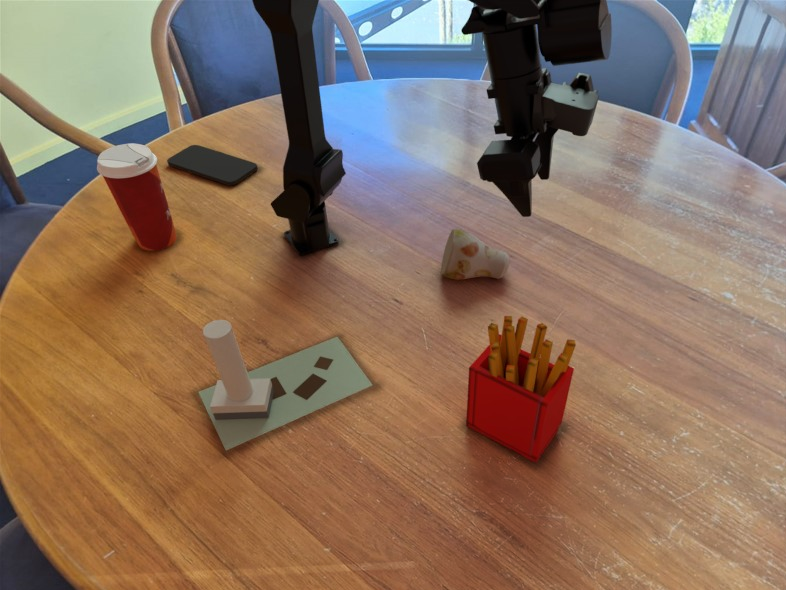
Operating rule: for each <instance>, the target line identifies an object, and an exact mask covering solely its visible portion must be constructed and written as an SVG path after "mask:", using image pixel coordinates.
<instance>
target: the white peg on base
mask: <svg viewBox="0 0 786 590" xmlns="http://www.w3.org/2000/svg"><path fill="white" fill-rule="evenodd" d="M202 334H203V337H204V339H205V342H206V344H207V347H208V349H209V352H210V354H211V358H212V360H213V362H214V365H215V367H216V369H217V373H218V374H219V377H220V379H217V381H216V384H215V385H216V387H215V391H214V394H213V398H212V401H211V405H210V408H211V410H212V413H213V415H214V417H215V419H216V420H221V419H250V418H269V414H270V409H271V405H272V400H273V395H274V390H273V387H272V383H271V380H270V378H267V379H250V378H249V375H248V372H249V371H248V370H247V367H246V364H245V361H244V359H243V355H242V352H241V349H240V346H239V343H238V340H237V338H236V335H235V333H234V329H233V326H232V324H231V322H229V321H228V320H225V319H214V320H212V321H210V322H208V323H207V324H206V325H205V326H204V327H203V329H202Z"/></svg>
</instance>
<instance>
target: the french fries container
mask: <svg viewBox="0 0 786 590" xmlns="http://www.w3.org/2000/svg"><path fill="white" fill-rule="evenodd" d="M503 316H504V317H503V323H502V330H501V334H500V333H499V324H497V323H494V322H491V323H490V324H489V325H488V326H487V332H488V341H489V344H488V346H486V348H485V349H484V350H483V351H482V352H481V353H480V354H479V356H478V357H477V358H476V359H475V360H474V361H473V362H472V363H471V364H470V366H469V367H468V383H467V401H466V403H467V405H466V421H465V422H466V423H465V426H466V427H467V428H468V429H471V430H473V431H475V432H476V433H477V434H480V435H482V436H484V437H486V438H488V439H489V440H492V441H493V442H495V443H497V444H499V445H501V446H502V447H505V448H506V449H508V450H510V451H512V452H514V453H515V454H518V455H520V456H522V457H524V458H525V459H527V460H529V461H531V462H533V463H535V464H537V463H538V461H539V460H540V458H541V457H542V455H544V454H543V453H544V452H545V451H546V449H547V448H548V446H549V445H550V444H551V442H552V440H553V439H554V437H555V436H556V434H557V433H558V431H559V427H560V426H561V425H562V423H563V419H564V415H565V411H566V406H567V401H568V396H569V393H570V388H571V383H572V379H573V375H574V371H575V368H574V367H572V366H571V365H570V362H571V359H572V357H573V354H574V351H575V349H576V346H577V343H576V340H575V339H568V338H567V340H566V341H565V343H564V344H565V345H564V347H563V350H562V352H561V353H560V354H559V355H558V357H557V358H556V360H555V362H554V363H551V362H550V360H551V355H552V348H553V341H552V340H549V339H545V338H546V335H547V331H548V325H546V324H544V323H543V322H541V323H538V324H537V325H536V328H535V332H534V337H533V341H532V345H531V349H530V352H528V351H526V350H524V349H522V346H523V342H524V338H525V333H526V330H527V326H528V321H529V319H528V318H526V317H524V316H520V317H518V319H517V323H516V328H515V326H514V325H513V316H512V315H503Z"/></svg>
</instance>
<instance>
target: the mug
mask: <svg viewBox="0 0 786 590" xmlns="http://www.w3.org/2000/svg"><path fill="white" fill-rule="evenodd" d="M510 261H511V260H510V257H509V255H508V254H507V253H506V252H505V251H501V250H499V249H495V248H492V247H490V246H489V245H487V243H485V242H483V241H482V240H480V239H479V237H476V236H475V235H473V234H472V233H470V232H469V231H466V230H465V229H458V228H456V229H452V230H451V231H450V233H449V236H448V238H447V241H446V244H445V247H444V251H443V255H442V259H441V267H440V275H441V276H443V277H445V278H448V279H451V280H456V281H457V280H467V279H473V278H479V277H487V278H493V279H497V280H498V279H502V278H504V277H505V276H506V275H507V273H508V270H509V266H510V263H511V262H510Z"/></svg>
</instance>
